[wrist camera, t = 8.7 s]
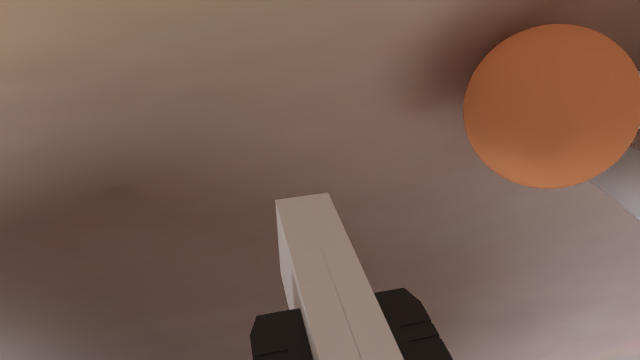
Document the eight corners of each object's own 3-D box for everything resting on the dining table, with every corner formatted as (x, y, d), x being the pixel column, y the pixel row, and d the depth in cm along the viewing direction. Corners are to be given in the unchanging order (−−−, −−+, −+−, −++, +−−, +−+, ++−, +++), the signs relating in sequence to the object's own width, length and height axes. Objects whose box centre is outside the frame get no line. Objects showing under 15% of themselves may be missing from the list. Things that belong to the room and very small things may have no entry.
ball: (612, 220, 14) (430, 184, 18) (635, 187, 19) (486, 164, 23) (652, 11, 13) (446, 17, 17) (666, 30, 18) (502, 31, 21)
